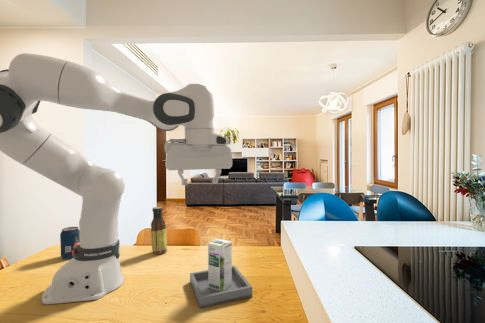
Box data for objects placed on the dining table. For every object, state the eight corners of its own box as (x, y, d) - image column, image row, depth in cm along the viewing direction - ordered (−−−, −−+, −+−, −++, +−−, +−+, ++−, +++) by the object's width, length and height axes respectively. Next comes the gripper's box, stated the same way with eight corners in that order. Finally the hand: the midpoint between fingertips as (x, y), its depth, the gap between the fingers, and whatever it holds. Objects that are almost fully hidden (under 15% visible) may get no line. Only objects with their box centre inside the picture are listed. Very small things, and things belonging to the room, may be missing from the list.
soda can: (64, 254, 112) (63, 227, 111) (82, 252, 114) (81, 225, 113) (58, 261, 105) (57, 231, 104) (77, 258, 107) (77, 230, 106)
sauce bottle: (169, 249, 116) (168, 206, 116) (163, 255, 110) (162, 209, 109) (155, 249, 117) (154, 205, 116) (148, 254, 111) (148, 208, 110)
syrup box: (207, 288, 82) (207, 243, 82) (218, 280, 87) (217, 237, 87) (222, 293, 79) (222, 246, 79) (232, 284, 84) (232, 240, 84)
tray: (200, 308, 73) (200, 298, 73) (190, 281, 88) (190, 273, 88) (252, 296, 79) (252, 287, 79) (234, 273, 94) (234, 265, 93)
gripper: (165, 138, 72) (165, 187, 73) (234, 139, 80) (234, 183, 80) (163, 139, 78) (164, 184, 79) (227, 140, 86) (227, 181, 86)
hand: (200, 184), depth 80 cm, fingers open, 8 cm apart
